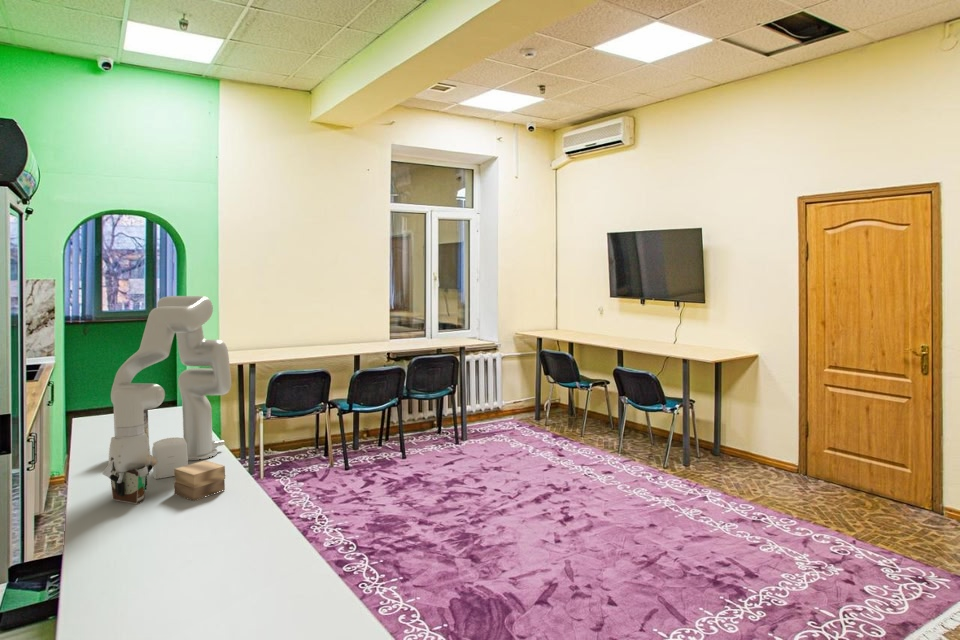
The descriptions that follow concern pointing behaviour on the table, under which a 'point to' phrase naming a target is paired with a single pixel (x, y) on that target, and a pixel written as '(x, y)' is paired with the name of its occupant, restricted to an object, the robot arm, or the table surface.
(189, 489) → the tan cardboard flat block
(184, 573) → the table surface
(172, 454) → the photo printer
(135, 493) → the food container
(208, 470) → the oak slab
